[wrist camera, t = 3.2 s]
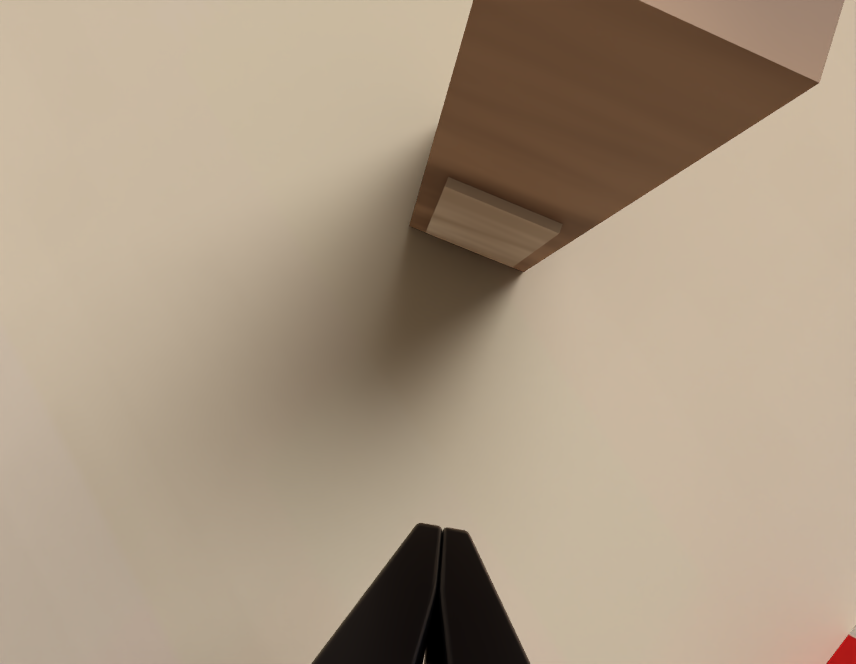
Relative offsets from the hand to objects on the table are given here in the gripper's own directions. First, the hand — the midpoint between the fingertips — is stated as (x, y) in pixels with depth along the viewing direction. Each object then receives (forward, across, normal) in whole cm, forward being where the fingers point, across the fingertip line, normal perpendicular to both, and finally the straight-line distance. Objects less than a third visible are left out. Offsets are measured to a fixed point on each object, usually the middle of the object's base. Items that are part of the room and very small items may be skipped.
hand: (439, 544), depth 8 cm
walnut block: (+16, 0, +2) cm, 16 cm away
